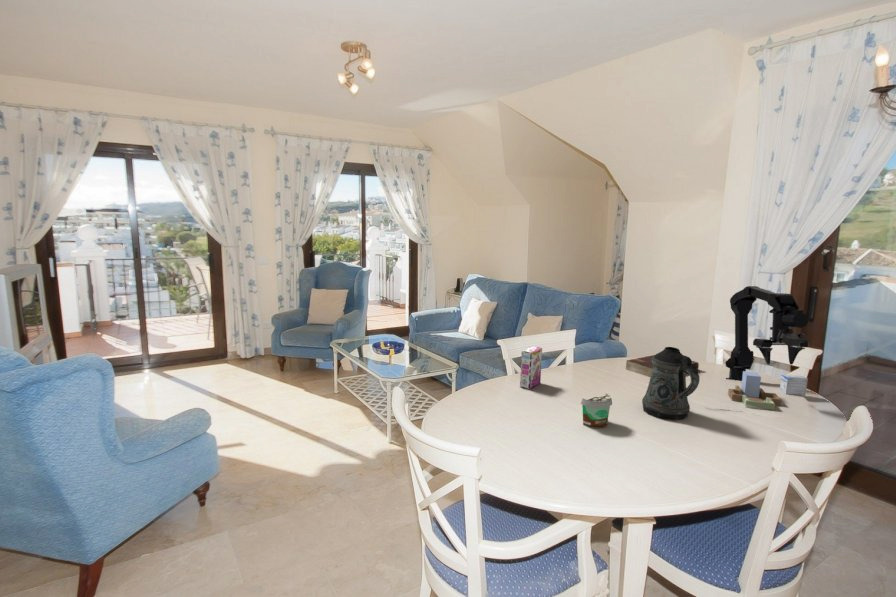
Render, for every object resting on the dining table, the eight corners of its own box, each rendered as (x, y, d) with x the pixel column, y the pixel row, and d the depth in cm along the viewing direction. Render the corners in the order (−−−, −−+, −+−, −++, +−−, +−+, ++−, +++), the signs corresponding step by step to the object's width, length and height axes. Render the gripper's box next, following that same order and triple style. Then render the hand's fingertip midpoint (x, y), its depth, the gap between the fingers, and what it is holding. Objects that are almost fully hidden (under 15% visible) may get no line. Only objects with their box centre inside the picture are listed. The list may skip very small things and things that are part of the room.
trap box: (724, 393, 202) (725, 384, 202) (770, 398, 197) (771, 388, 196) (734, 409, 184) (735, 399, 184) (784, 415, 179) (786, 405, 178)
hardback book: (659, 381, 219) (659, 370, 219) (625, 370, 236) (626, 360, 235) (698, 371, 234) (699, 361, 233) (664, 362, 250) (664, 352, 249)
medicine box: (798, 394, 201) (801, 374, 200) (805, 398, 197) (808, 378, 195) (778, 394, 202) (781, 374, 201) (785, 397, 198) (787, 377, 196)
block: (740, 391, 200) (743, 371, 198) (754, 393, 198) (757, 372, 197) (744, 396, 194) (746, 375, 193) (758, 398, 192) (761, 376, 191)
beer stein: (647, 400, 193) (651, 340, 189) (701, 411, 182) (706, 347, 178) (636, 413, 180) (641, 349, 176) (694, 426, 169) (700, 357, 165)
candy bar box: (530, 389, 206) (531, 352, 203) (519, 387, 208) (520, 350, 206) (541, 383, 215) (542, 347, 212) (531, 380, 217) (532, 345, 215)
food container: (592, 432, 164) (594, 404, 162) (579, 425, 169) (581, 398, 168) (618, 425, 169) (620, 398, 168) (605, 419, 175) (607, 392, 173)
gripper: (772, 327, 182) (770, 368, 182) (820, 327, 182) (818, 368, 183) (752, 324, 193) (751, 363, 194) (798, 324, 193) (797, 362, 194)
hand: (779, 364), depth 191 cm, fingers open, 9 cm apart
